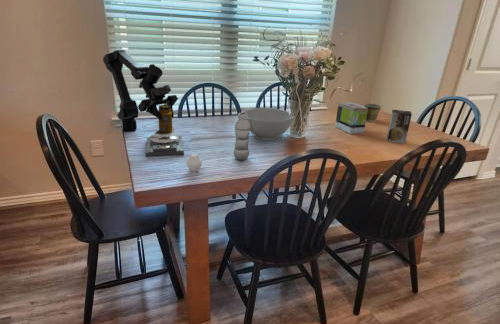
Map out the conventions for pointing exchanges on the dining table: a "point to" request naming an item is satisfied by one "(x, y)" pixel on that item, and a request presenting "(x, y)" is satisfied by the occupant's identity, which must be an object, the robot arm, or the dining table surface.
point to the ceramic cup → (372, 112)
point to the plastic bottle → (242, 137)
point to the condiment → (165, 121)
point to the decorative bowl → (268, 122)
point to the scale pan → (164, 138)
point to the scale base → (164, 148)
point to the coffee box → (399, 126)
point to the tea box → (351, 117)
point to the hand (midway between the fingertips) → (167, 118)
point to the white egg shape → (194, 162)
